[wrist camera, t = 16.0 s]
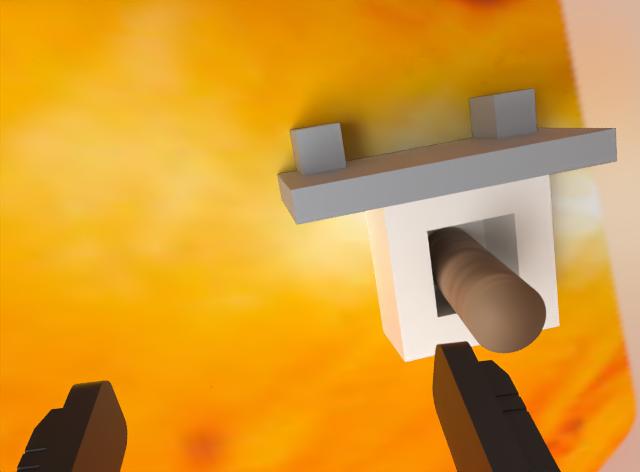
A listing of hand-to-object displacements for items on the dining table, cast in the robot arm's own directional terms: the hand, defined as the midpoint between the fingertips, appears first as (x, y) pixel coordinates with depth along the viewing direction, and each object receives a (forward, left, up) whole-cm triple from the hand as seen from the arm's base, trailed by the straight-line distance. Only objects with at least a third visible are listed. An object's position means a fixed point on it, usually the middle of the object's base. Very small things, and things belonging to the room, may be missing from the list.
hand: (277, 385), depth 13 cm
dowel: (+15, -6, -26) cm, 30 cm away
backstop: (+12, +3, -27) cm, 30 cm away
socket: (+15, -6, -27) cm, 32 cm away
